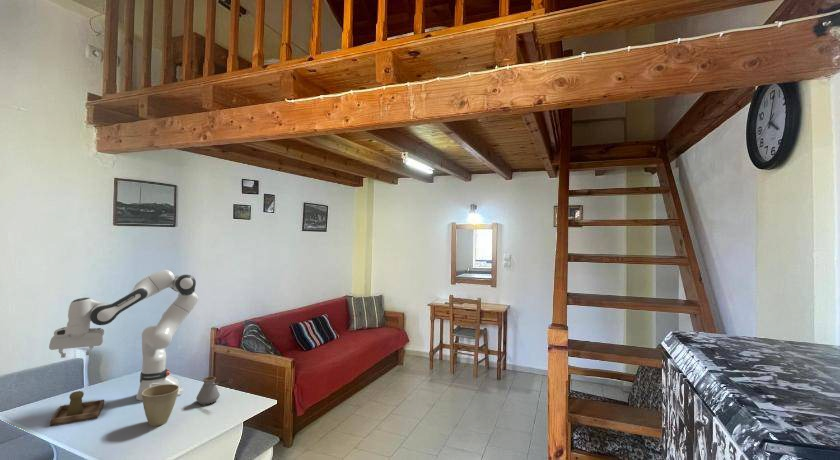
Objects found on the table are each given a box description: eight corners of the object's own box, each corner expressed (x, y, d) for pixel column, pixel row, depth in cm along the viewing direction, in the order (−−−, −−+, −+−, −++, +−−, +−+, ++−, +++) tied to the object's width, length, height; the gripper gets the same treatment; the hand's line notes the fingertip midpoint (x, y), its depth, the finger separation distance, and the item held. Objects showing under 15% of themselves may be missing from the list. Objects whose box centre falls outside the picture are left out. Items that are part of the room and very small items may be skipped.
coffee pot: (190, 404, 198) (192, 376, 199) (208, 396, 209) (210, 370, 210) (220, 410, 192) (222, 382, 193) (237, 402, 203) (239, 375, 204)
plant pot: (139, 420, 178) (142, 387, 179) (175, 413, 187) (177, 382, 188) (138, 433, 166) (141, 398, 167) (177, 425, 175) (179, 391, 176)
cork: (72, 418, 175) (74, 395, 176) (63, 416, 177) (65, 393, 177) (86, 412, 181) (88, 390, 182) (76, 411, 183) (79, 389, 183)
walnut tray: (103, 405, 192) (104, 399, 192) (97, 418, 178) (97, 412, 178) (59, 411, 183) (60, 405, 183) (49, 426, 169) (50, 419, 169)
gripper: (105, 326, 196) (103, 351, 195) (52, 329, 184) (50, 357, 183) (103, 328, 191) (101, 355, 190) (49, 332, 179) (46, 360, 178)
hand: (75, 356), depth 187 cm, fingers open, 8 cm apart
